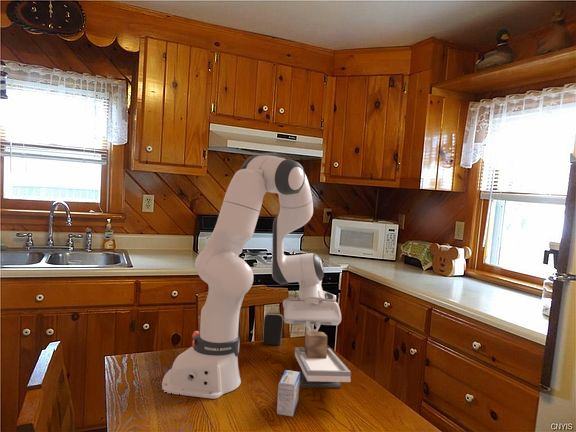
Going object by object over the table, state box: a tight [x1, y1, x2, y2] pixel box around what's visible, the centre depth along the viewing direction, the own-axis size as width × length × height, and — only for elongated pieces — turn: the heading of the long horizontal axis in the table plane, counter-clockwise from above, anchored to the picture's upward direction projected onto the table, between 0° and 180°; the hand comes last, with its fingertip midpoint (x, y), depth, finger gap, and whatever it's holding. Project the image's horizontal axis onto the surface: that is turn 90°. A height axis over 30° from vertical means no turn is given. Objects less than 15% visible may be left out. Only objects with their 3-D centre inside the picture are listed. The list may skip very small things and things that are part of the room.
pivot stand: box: [297, 370, 342, 389], centre depth 124 cm, size 12×8×4 cm, turn 95°
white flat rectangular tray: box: [294, 346, 352, 383], centre depth 124 cm, size 12×28×3 cm, turn 5°
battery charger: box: [262, 312, 284, 346], centre depth 150 cm, size 7×4×11 cm, turn 91°
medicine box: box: [276, 369, 300, 417], centre depth 108 cm, size 8×4×9 cm, turn 168°
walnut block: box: [304, 330, 328, 359], centre depth 132 cm, size 6×7×7 cm
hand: (313, 335), depth 137 cm, fingers closed
